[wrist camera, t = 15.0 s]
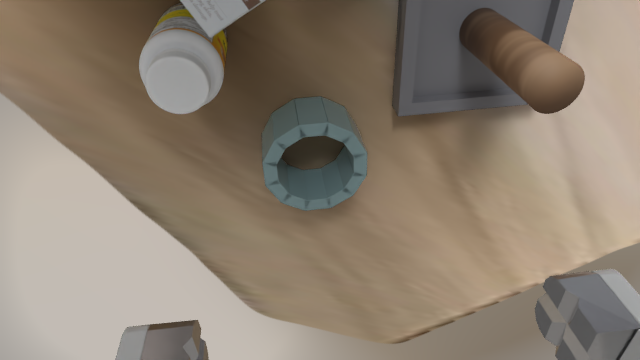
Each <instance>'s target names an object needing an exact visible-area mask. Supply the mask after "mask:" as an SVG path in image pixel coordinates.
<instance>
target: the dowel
mask: <svg viewBox="0 0 640 360" xmlns="http://www.w3.org/2000/svg"><path fill="white" fill-rule="evenodd" d="M459 37H460V41H461V43H462V45H463V46H464V47H465V48H466V49H468V50H469V51H470V52H471V53H472V54H473V55H474V56H475V57H476V58H478V59H479V60H480V61H481V62H482V63H483V64H484V65H485V66H486V67H488V68H489V69H490V70H491V71H492V72H493V73H494V74H495V75H496V76H497V77H499V78H500V79H501V80H502V81H503V82H504V83H505V84H506V85H507V86H509V87H510V88H511V89H512V90H513V91H514V92H515V93H516V94H517V95H519V96H520V97H521V98H522V99H523V100H524V101H525V102H526V103H527V104H529V105H530V106H531V107H532V108H533V109H534V110H535V111H537V112H539V113H544V114H549V113H554V112H558V111H560V110H562V109H564V108H566V107H567V106H568V105H570V104H571V103H572V102H573V101H574V100H575V99H576V98H577V97H578V95H579V94H580V92H581V90H582V88H583V85H584V80H585V76H584V71H583V69H582V68H581V66H580V65H578V64H577V63H575V62H574V61H572V60H571V59H569V58H568V57H566V56H565V55H563V54H561V53H560V52H558V51H557V50H555V49H554V48H552V47H550V46H549V45H547V44H546V43H544V42H543V41H541V40H540V39H538V38H536V37H535V36H533V35H532V34H530V33H529V32H527V31H525V30H524V29H522V28H521V27H519V26H518V25H516V24H515V23H513V22H511V21H510V20H508V19H507V18H505V17H504V16H502V15H501V14H499V13H497V12H496V11H494V10H492V9H490V8H480V9H477V10H475V11H473V12H471V13H470V14H469V15H468V16H467V17H466V18H465V19H464V21H463V23H462V25H461V27H460V31H459Z"/></svg>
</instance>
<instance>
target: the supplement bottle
mask: <svg viewBox="0 0 640 360" xmlns="http://www.w3.org/2000/svg"><path fill="white" fill-rule="evenodd" d="M227 42H228V41H227V33H226V29H225V28H224V29H223V30H222V31H220V32H219V33H217V34H216V35H214V36H213V37H211V38H210V37H208V35H207V33H206V32H205V31H204V30H203V29H202V27H201V26H200V25H199V24H198V22H197V21H196V20H195V19H194V17H193V16H192V15H191V14H190V12H189V11H188V10H187V9H186V7H185V6H184V5H183V4H182V3H179V4H176V5H174V6H172V7H170V8H169V9H168V10H167V11H165V12H164V14H163V15H162V16H161V18H160V19H159V21H158V23H157V25H156V26H155V28H154V30H153V31H152V33H151V35H150V37H149V38H148V40H147V42H146V44H145V46H144V47H143V50H142V52H141V55H140V59H139V71H140V76H141V79H142V81H143V83H144V85H145V87H146V90H147V93H148V95H149V97H150V98H151V100H152V101H153V102H154V103H155V104H156V105H157V106H158V107H160V108H161V109H163V110H165V111H167V112H170V113H174V114H187V113H191V112H194V111H196V110H198V109H199V108H200V107H201V106H203V105H205V104H207V103H209V102H210V101H211V100H212V99H213V98H214V97H215V96H216V95H217V94H218V92H219V91H220V88H221V86H222V83H223V78H224V70H225V61H226V52H227Z"/></svg>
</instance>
